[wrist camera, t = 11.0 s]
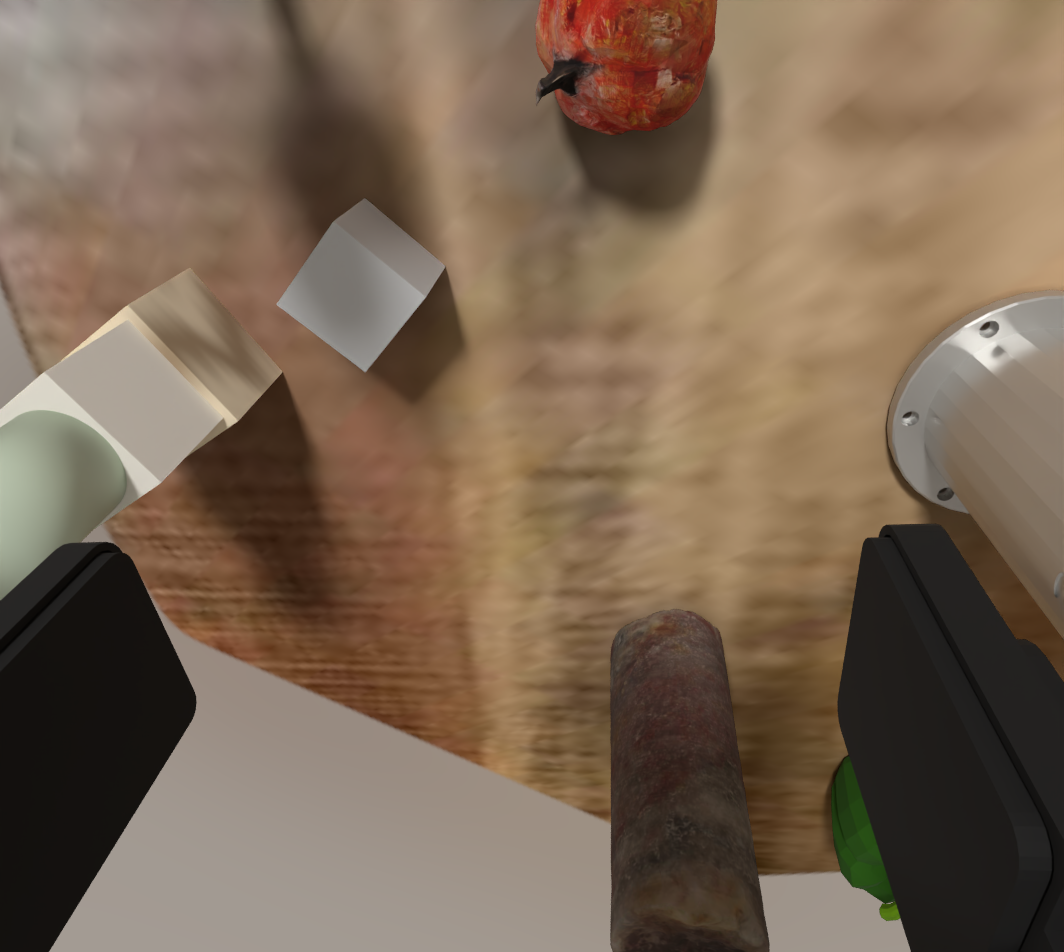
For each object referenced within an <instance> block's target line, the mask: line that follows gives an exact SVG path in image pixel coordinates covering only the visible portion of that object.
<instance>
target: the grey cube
mask: <svg viewBox="0 0 1064 952" xmlns="http://www.w3.org/2000/svg"><path fill="white" fill-rule="evenodd" d="M445 267H446V266H445V265H444V264H442V263H441V262H440V261H439V260H438V259H437V258H435V257H434V256H433V255H432V254H431V253H429V252H428V251H427V250H426V249H425V248H424V247H422V246H421V245H420V244H419V243H418V242H416V241H415V240H414V239H413V238H412V237H411V236H409V235H408V234H407V233H406V232H405V231H403V230H402V229H401V228H400V227H399V226H398V225H396V224H395V223H394V222H393V221H392V220H390V219H389V218H388V217H387V216H386V215H385V214H383V213H382V212H381V211H380V210H379V209H377V208H376V207H375V206H374V205H373V204H372V203H370V202H369V201H368V200H367V199H366V198H364V199H363V200H361V201H360V202H359V203H357V204H356V205H355V206H353V207H352V208H351V209H349V210H348V211H347V212H345V213H344V214H342V215H341V216H340V217H338V218H337V219H336V220H334V221H333V223H332V224H331V226H330V227H329V228H328V230H327V231H326V233H325V234H324V236H323V237H322V239H321V240H320V242H319V243H318V245H317V246H316V247H315V249H314V250H313V252H312V253H311V255H310V256H309V258H308V259H307V261H306V262H305V264H304V265H303V266H302V268H301V269H300V271H299V272H298V274H297V275H296V277H295V278H294V280H293V281H292V283H291V284H290V285H289V287H288V288H287V290H286V291H285V293H284V294H283V296H282V297H281V299H280V300H279V302H278V303H277V304H276V305H278V306H279V307H280V308H282V309H283V310H284V311H286V312H287V313H288V314H289V315H291V316H292V317H293V318H295V319H296V320H297V321H299V322H300V323H301V324H303V325H304V326H305V327H307V328H308V329H309V330H310V331H312V332H313V333H314V334H316V335H317V336H318V337H320V338H321V339H322V340H324V341H325V342H326V343H327V344H329V345H330V346H331V347H333V348H334V349H335V350H337V351H338V352H339V353H341V354H342V355H343V356H345V357H346V358H347V359H348V360H350V361H351V362H352V363H354V364H355V365H356V366H358V367H359V368H360V369H362V370H363V371H364V372H366V371H367V370H368V368H369V367H370V366H371V365H372V363H373V362H374V361H375V360H376V359H377V357H378V356H379V355H380V354H381V352H382V351H383V350H384V349H385V347H386V346H387V345H388V344H389V342H390V341H391V340H392V339H393V337H394V336H395V335H396V334H397V332H398V331H399V330H400V329H401V327H402V326H403V325H404V324H405V323H406V321H407V320H408V319H409V318H410V316H411V315H412V314H413V313H414V311H415V310H416V309H417V308H418V306H419V305H420V304H421V303H422V301H423V300H424V299H425V298H426V296H427V295H428V293H429V292H430V290H431V288H432V287H433V285H434V284H435V282H436V281H437V279H438V278H439V276H440V274H441V273H442V271H443V270H444V268H445Z"/></svg>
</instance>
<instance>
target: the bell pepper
mask: <svg viewBox="0 0 1064 952" xmlns="http://www.w3.org/2000/svg"><path fill="white" fill-rule="evenodd" d="M831 807H832V827H833V838H834V847H835V851H836V854H837V858H838V862H839V866H840V870H841V873H842V874H843V875H844V877H845V878H846V879H847V880H848V882H849V883H850V884H851V885H852V887H856V888H860V889H864V890H865V891H867V892H868V893H870V894H871V895H873V896H874V897H876V898H877V899H879V900H881V901H882V902H883V903H885V904H882V905H881V907H880V909H879V910H880V915H881V917H882V918H883V919H885V920H886V921H890V920H898V919H899V918H900V915H899V912H898V909H897V905H896V902H895V899H894V896H893V893H892V890H891V886H890V883H889V880H888V877H887V874H886V871H885V868H884V864H883V861H882V858H881V855H880V852H879V849H878V845H877V842H876V839H875V836H874V833H873V830H872V827H871V823H870V820H869V817H868V814H867V811H866V808H865V804H864V801H863V798H862V795H861V792H860V789H859V785H858V782H857V779H856V776H855V773H854V770H853V767H852V763H851V760H850V757H849V756H848V757H846V758H845V759H844V760H843V762H842V764H841V766H840V768H839V770H838V772H837V775H836V778H835V781H834V783H833V786H832V799H831ZM890 902H893V903H891V904H886V903H890Z"/></svg>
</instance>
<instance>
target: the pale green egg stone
mask: <svg viewBox="0 0 1064 952" xmlns="http://www.w3.org/2000/svg"><path fill="white" fill-rule="evenodd" d="M126 486H127V478H126V473H125V469H124V466H123V464H122V462H121V460H120V458H119V456H118V454H117V453H116V451H115V450H114V448H113V447H112V446H111V445H110V443H109V442H108V441H107V440H106V439H105V438H104V437H103V436H102V435H100V434H99V433H98V432H97V431H96V430H94V429H93V428H92V427H90V426H89V425H87V424H85V423H84V422H82V421H80V420H78V419H76V418H74V417H72V416H69V415H66V414H63V413H60V412H56V411H49V410H34V411H28V412H25V413H22V414H20V415H18V416H17V417H15V418H14V419H12V420H11V421H9V422H8V423H6V424H5V425H3V426H2V427H0V600H1V599H3V598H4V597H5V596H6V595H7V594H8V593H9V592H10V591H11V590H12V589H13V588H14V587H16V586H17V585H18V584H19V583H20V582H21V581H22V580H23V579H24V578H25V577H26V576H28V575H29V574H30V573H31V572H32V571H33V570H34V569H35V568H36V567H37V566H38V565H39V564H41V563H42V562H43V561H44V560H45V559H46V558H47V557H48V556H49V555H50V554H51V553H52V552H54V551H55V550H56V549H57V548H59V547H60V546H62V545H63V544H68V543H80V542H81V541H82V540H83V539H84V538H85V537H86V536H87V535H88V534H89V533H90V532H91V531H93V529H95V528H96V527H97V526H98V525H99V524H100V523H101V522H102V521H103V520H104V519H105V518H106V517H107V516H108V515H109V514H110V513H111V512H112V511H113V510H114V509H115V508H116V507H117V506H118V504H119V503H120V502H121V501H122V499H123V497H124V495H125V492H126Z"/></svg>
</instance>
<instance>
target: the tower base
mask: <svg viewBox="0 0 1064 952" xmlns="http://www.w3.org/2000/svg"><path fill="white" fill-rule="evenodd" d="M126 320H129V321H130V322H131V323H132V324H133V325H134V326H135V327H136V328H137V329H138V330H139V331H140V332H141V333H142V334H143V335H144V336H145V337H146V338H147V339H148V340H149V341H150V342H151V343H152V344H153V345H154V346H155V348H156V349H157V350H158V351H159V352H160V353H161V354H162V355H163V356H164V357H165V358H166V359H167V360H168V361H169V362H170V363H171V364H172V365H173V366H174V367H175V368H176V369H177V370H178V371H179V372H180V373H181V374H182V375H183V376H184V377H185V378H186V379H187V381H188V382H189V383H190V384H191V385H192V386H193V387H194V388H195V389H196V390H197V391H198V392H199V393H200V394H201V395H202V396H203V397H204V398H205V399H206V400H207V401H208V402H209V403H210V404H211V405H212V406H213V407H214V408H215V409H216V410H217V411H218V412H219V414H220V415H221V416H222V417H223V419H222V420H221V421H220V422H219V423H218V424H217V425H216V426H215V427H214V428H213V429H212V430H211V431H210V432H209V433H208V434H207V435H206V436H205V438H204V439H203V440H202V441H201V442H200V443H199V444H198V445H197V446H196V447H195V448H194V449H193V450H192V451H191V452H190V453H189V454H188V455H187V456H189V455H190V454H191V453H193V452H194V451H196V450H197V449H199V448H200V447H202V446H203V445H204V444H206V443H207V442H209V441H210V440H212V439H213V438H215V437H216V436H217V435H219V434H220V433H222V432H223V431H225V430H226V429H228V428H229V427H230V426H232V425H233V424H235V423H236V422H238V421H239V420H240V419H241V418H242V416H243V415H244V414H245V413H246V412H247V411H248V410H249V409H250V408H251V407H252V405H253V404H254V403H255V402H256V401H257V400H258V399H259V398H260V397H261V396H262V394H263V393H264V392H265V391H266V390H267V389H268V388H269V387H270V386H271V385H272V383H273V382H274V381H275V380H276V379H277V378H278V377H279V376H280V375H281V373H282V371H281V369H280V368H279V367H278V366H277V365H276V364H275V363H274V362H273V360H272V359H271V358H270V357H269V356H268V355H267V354H266V353H265V352H264V350H263V349H262V348H261V347H260V346H259V345H258V344H257V343H256V341H255V340H254V339H253V338H252V337H251V336H250V335H249V334H248V332H247V331H246V330H245V329H244V328H243V327H242V326H241V325H240V324H239V322H238V321H237V320H236V319H235V318H234V317H233V316H232V315H231V313H230V312H229V311H228V310H227V309H226V308H225V307H224V306H223V304H222V303H221V302H220V301H219V300H218V299H217V298H216V297H215V296H214V294H213V293H212V292H211V291H210V290H209V289H208V288H207V287H206V285H205V284H204V283H203V282H202V281H201V280H200V279H199V278H198V276H197V275H196V274H195V273H194V272H193V271H192V270H191V269H190V268H188V269H187V270H185V271H183V272H182V273H180V274H178V275H177V276H175V277H173V278H172V279H170V280H168V281H167V282H165V283H163V284H162V285H160V286H158V287H157V288H155V289H153V290H152V291H150V292H148V293H147V294H145V295H143V296H142V297H140V298H138V299H137V300H135V301H133V302H132V303H130V304H128V305H127V306H126V307H125V308H123V309H122V310H121V311H120V312H119V313H117V314H116V315H115V316H114V317H113V318H111V319H110V320H109V321H108V322H107V323H106V324H104V325H103V326H102V327H101V328H100V329H98V330H97V331H96V332H95V333H94V334H92V335H91V336H90V337H89V338H88V339H87V340H85V341H84V342H83V343H82V344H81V345H79V346H78V347H77V348H76V349H75V350H73V351H72V352H71V353H70V354H69V355H68V356H66V357H65V358H64V359H66V358H67V357H69V356H71V355H72V354H74V353H75V352H77V351H79V350H80V349H82V348H83V347H85V346H86V345H88V344H90V343H91V342H93V341H94V340H96V339H98V338H99V337H101V336H102V335H104V334H106V333H107V332H109V331H110V330H112V329H114V328H115V327H117V326H118V325H120V324H122V323H123V322H125V321H126ZM64 359H63V360H64ZM63 360H62V361H63ZM60 362H61V361H60ZM187 456H186V457H187ZM186 457H185V458H186Z"/></svg>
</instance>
